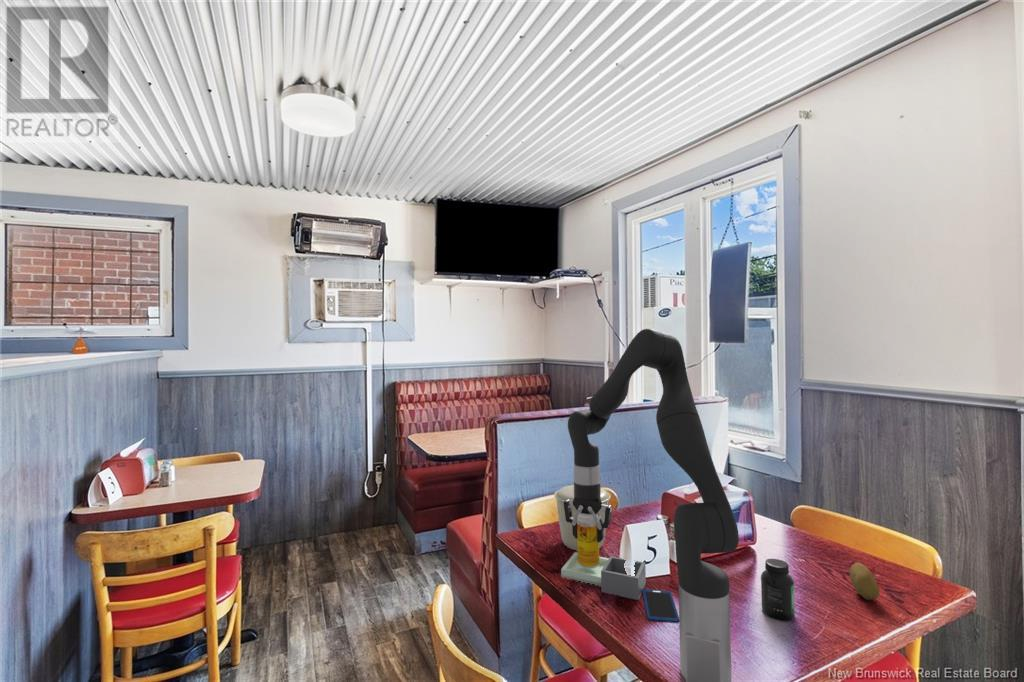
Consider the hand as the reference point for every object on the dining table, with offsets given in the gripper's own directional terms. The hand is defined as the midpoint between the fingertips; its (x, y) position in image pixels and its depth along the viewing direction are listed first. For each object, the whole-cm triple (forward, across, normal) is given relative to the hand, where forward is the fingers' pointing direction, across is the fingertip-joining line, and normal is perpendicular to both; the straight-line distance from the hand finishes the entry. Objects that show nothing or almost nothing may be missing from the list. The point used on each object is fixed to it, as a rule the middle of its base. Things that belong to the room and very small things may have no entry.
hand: (588, 539), depth 134 cm
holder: (+10, +11, -4) cm, 15 cm away
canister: (+10, -7, +17) cm, 21 cm away
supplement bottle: (+10, +47, -1) cm, 48 cm away
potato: (+10, +67, +16) cm, 70 cm away
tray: (+9, 0, 0) cm, 9 cm away
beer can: (+7, 0, 0) cm, 7 cm away
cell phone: (+10, +21, -9) cm, 25 cm away
